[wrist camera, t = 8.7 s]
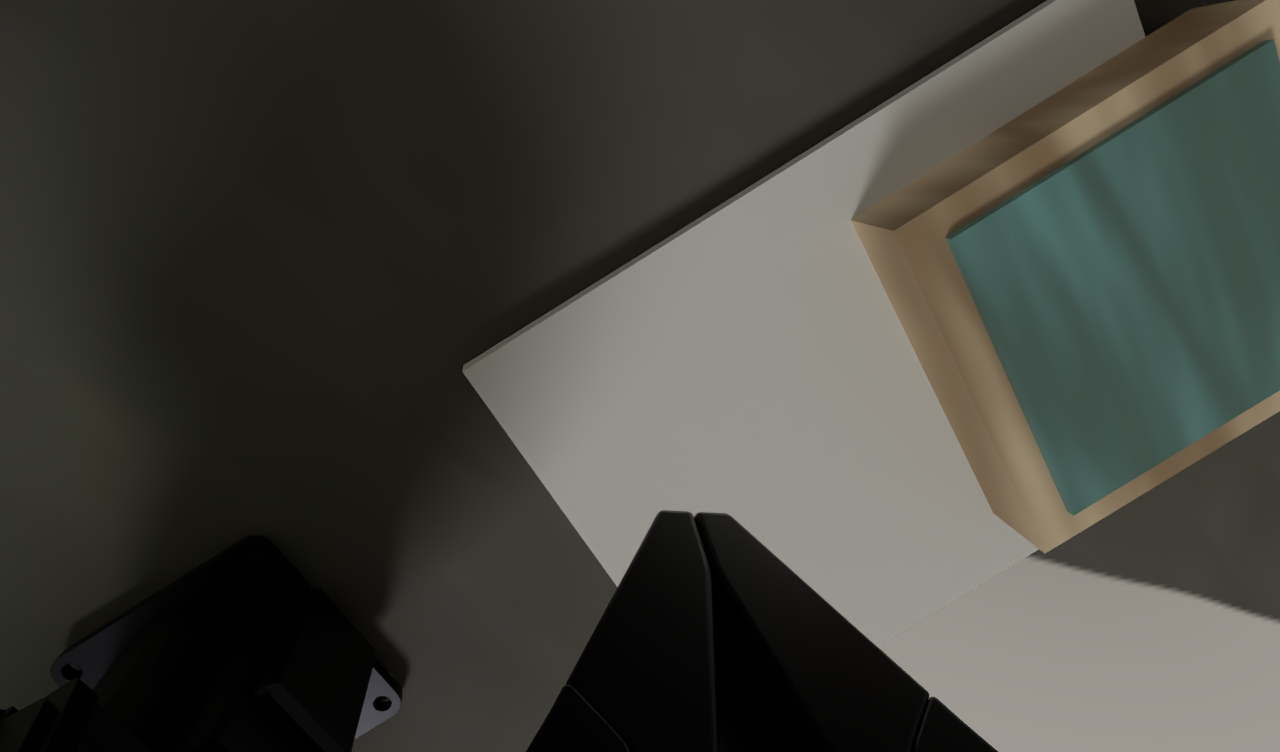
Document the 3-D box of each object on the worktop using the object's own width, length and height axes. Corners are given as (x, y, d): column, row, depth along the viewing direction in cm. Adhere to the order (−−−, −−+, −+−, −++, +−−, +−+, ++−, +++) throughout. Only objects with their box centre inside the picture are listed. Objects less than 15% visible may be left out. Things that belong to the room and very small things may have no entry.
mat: (721, 725, 25) (726, 738, 24) (463, 365, 20) (462, 371, 20) (1247, 404, 25) (1265, 411, 24) (1103, -35, 20) (1120, -41, 19)
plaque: (1050, 558, 21) (1381, 357, 21) (899, 232, 18) (1288, -10, 18) (993, 513, 24) (1287, 333, 23) (851, 220, 20) (1190, 8, 20)
